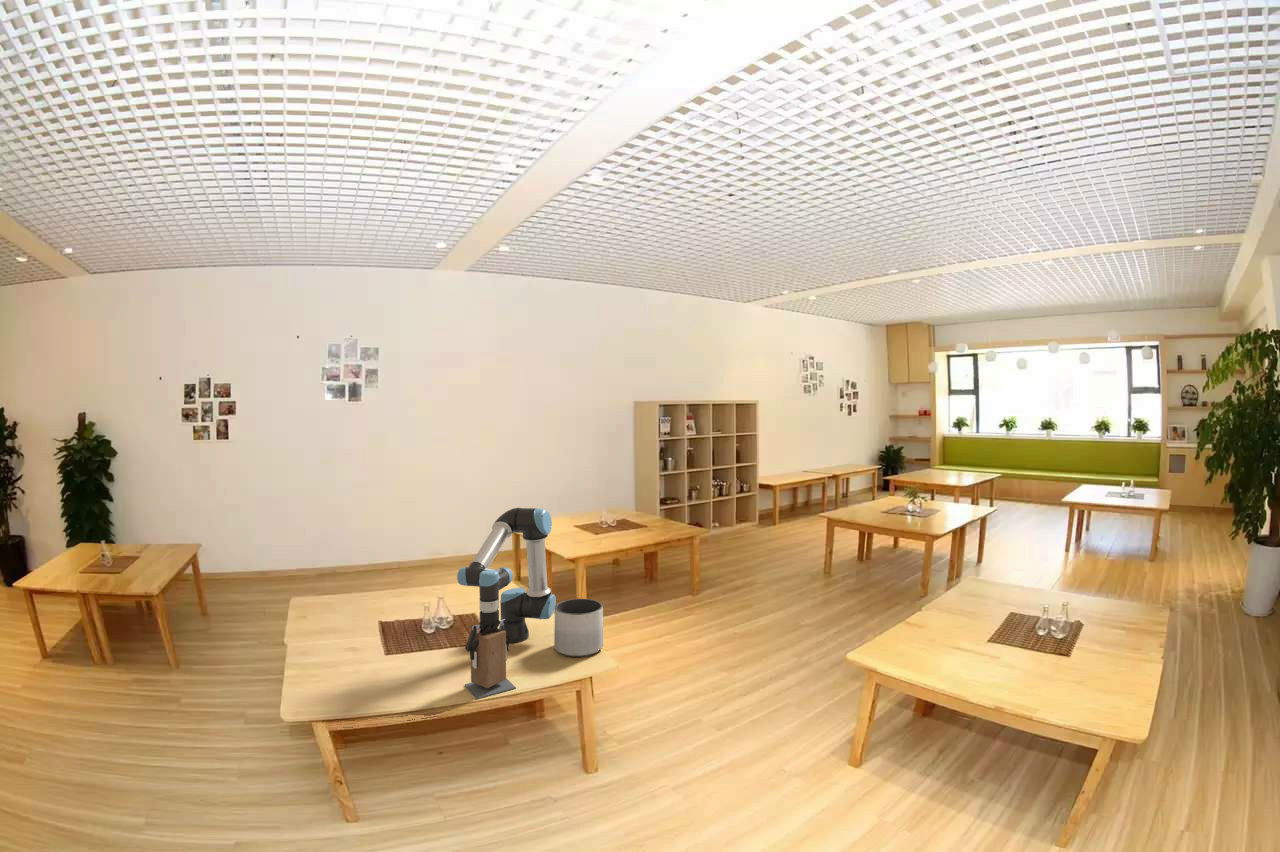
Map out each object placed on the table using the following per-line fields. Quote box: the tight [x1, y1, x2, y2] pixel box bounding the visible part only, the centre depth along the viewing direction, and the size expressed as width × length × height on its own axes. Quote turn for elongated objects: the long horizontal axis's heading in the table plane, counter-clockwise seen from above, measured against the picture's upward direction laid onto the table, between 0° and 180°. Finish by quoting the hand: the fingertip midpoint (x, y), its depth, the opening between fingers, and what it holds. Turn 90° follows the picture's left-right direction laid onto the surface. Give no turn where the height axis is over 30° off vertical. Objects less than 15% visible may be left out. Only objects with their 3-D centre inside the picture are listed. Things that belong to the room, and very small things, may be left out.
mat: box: [464, 677, 516, 701], centre depth 245 cm, size 14×16×1 cm
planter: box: [553, 598, 604, 658], centre depth 283 cm, size 23×23×20 cm
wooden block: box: [470, 628, 507, 688], centre depth 245 cm, size 10×10×20 cm
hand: (489, 663), depth 245 cm, fingers closed on wooden block, 12 cm apart
